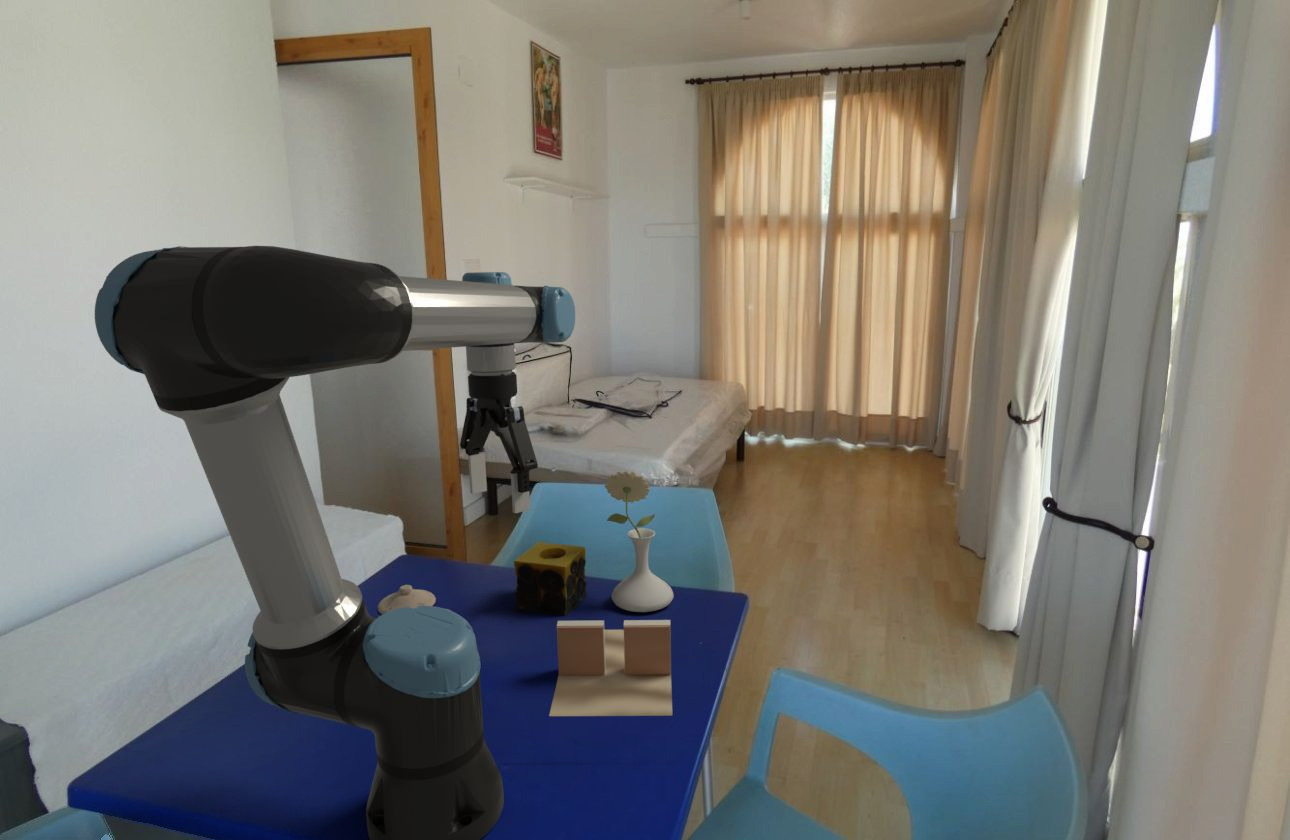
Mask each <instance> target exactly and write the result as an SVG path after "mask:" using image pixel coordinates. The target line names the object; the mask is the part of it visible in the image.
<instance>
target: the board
mask: <svg viewBox="0 0 1290 840" xmlns="http://www.w3.org/2000/svg"><path fill="white" fill-rule="evenodd" d="M605 662H606V670H605V674H604V675H559V674H558V675H557V680H556V683H555V684H556V686H555V690H554V694H553V698H552V702H551V705H550V711H549V714H548V716H549V717H667V716H668V717H672V716H673V694H672V693H673V692H672V691H673V690H672V689H673V688H672V673H671V674H670V675H625V663H624V629H605Z"/></svg>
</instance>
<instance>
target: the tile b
mask: <svg viewBox="0 0 1290 840" xmlns="http://www.w3.org/2000/svg"><path fill="white" fill-rule="evenodd" d="M671 626H672V625H671V619H639V620H638V619H637V620H636V619H631V620H630V619H627V620H626V619H624V620H623V630H624V663H625V675H670V674H671V675H672V645H671V644H672V642H671V641H672V635H671V633H672V630H671V628H672V627H671Z"/></svg>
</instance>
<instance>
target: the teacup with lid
mask: <svg viewBox="0 0 1290 840" xmlns="http://www.w3.org/2000/svg"><path fill="white" fill-rule="evenodd" d="M437 603H438V601H437V598H436V596H435V595H434V594H433V593H432V592H431V591H428V590H425V589H418V588H417V589H415V588H413V587H412V585H410V584H404V585H401V586H400V587H399V589H398V591H396V592H394V593H391V594H389V595H387V596H385V597H384V598H383V599H381V600H380V601H379V603H378V605H377V608H376V612H377V614H378V617H379V616H381V615H383V614H384V613H387V612H389V611H392V610H395V609H398V608H403V607H410V608H417V607H418V606H434V607H437ZM446 609H447V610H449V609H448V608H446Z"/></svg>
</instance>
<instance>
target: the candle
mask: <svg viewBox="0 0 1290 840" xmlns="http://www.w3.org/2000/svg"><path fill="white" fill-rule="evenodd" d="M586 559H587V558H586V547H585V546H580V545H569V544H560V543H548V542H541V541H537V542H535V543H534V544H533V546H531V547H529V549H528V550H526V551H525V552H523V553H522V554H521V555H519V556H518V557H517V558H516V559H514V561H513V562H514V563H513V566H514V570H515V571H514V572H515V576H516V588H515V592H514V594H515V601H514V602H515V612H528V613H539V614H552V615H558V616H562V617H563V616H564V617H567V616H568V615H569V614H570V612H573V611H574V610H575V609H576V608H578V606H579V604H580V603H581V602H582V601H583V600H584V598H586V597H587V581H586V568H585V567H586V563H587V560H586Z"/></svg>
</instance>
